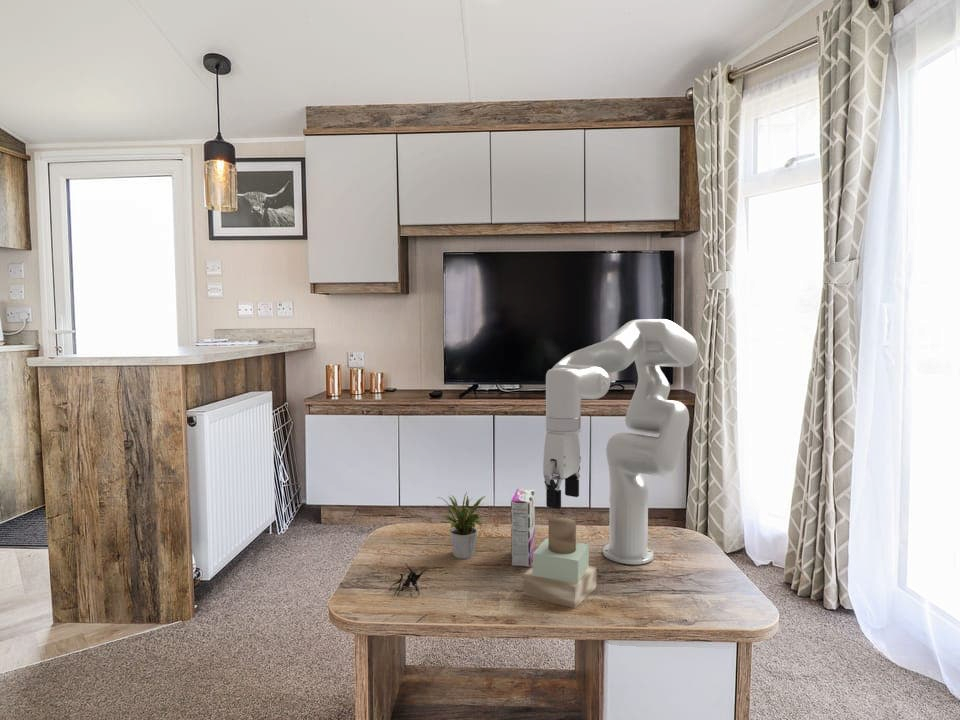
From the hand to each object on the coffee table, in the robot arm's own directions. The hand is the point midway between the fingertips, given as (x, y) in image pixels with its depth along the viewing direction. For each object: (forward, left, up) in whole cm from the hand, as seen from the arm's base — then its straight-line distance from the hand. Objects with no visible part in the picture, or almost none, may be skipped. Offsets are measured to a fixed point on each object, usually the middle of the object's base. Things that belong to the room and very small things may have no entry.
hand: (563, 501), depth 127 cm
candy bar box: (-12, -16, -20) cm, 28 cm away
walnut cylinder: (0, 0, -11) cm, 11 cm away
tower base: (0, -1, -21) cm, 21 cm away
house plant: (-5, -31, -20) cm, 37 cm away
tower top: (0, 0, -16) cm, 16 cm away
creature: (+19, -29, -21) cm, 40 cm away
